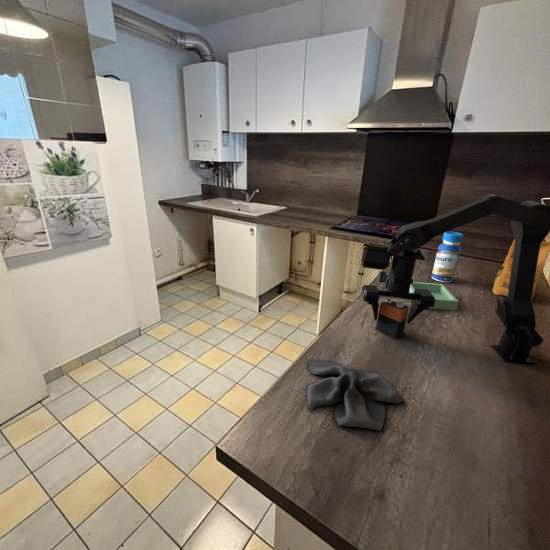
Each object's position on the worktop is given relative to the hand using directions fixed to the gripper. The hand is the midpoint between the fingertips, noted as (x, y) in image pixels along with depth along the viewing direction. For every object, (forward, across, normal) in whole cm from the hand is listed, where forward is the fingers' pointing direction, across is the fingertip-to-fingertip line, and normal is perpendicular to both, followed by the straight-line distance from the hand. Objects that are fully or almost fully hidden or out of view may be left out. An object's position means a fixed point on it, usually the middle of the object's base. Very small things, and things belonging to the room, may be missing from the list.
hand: (391, 321), depth 85 cm
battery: (+4, 0, 0) cm, 4 cm away
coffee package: (+4, -52, -34) cm, 62 cm away
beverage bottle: (+4, -31, -45) cm, 55 cm away
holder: (+4, -19, -24) cm, 31 cm away
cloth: (+4, +15, +26) cm, 30 cm away
